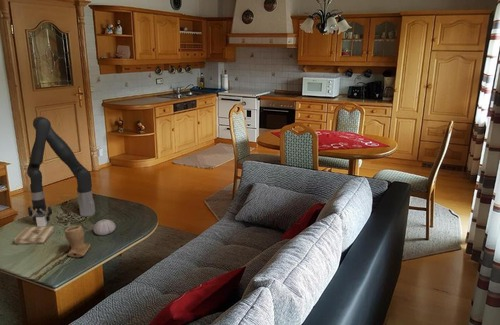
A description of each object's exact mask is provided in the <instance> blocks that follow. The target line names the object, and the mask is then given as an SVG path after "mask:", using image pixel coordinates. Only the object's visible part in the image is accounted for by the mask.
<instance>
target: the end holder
mask: <svg viewBox="0 0 500 325" xmlns="http://www.w3.org/2000/svg"><path fill="white" fill-rule="evenodd" d="M54 233H55V231H54V226H51V225H50V226H28V227H27V226H26V227H25V228H24V229H23V230H22V231H21V232H20V233H19V234H18V235H17V236H15V237H14V244H15V246H20V245H21V246H26V245H29V246H30V245H44V244H45V243H46V242H47V241H48V239H49V238H50V237H51V236H52V235H53V234H54Z"/></svg>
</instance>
